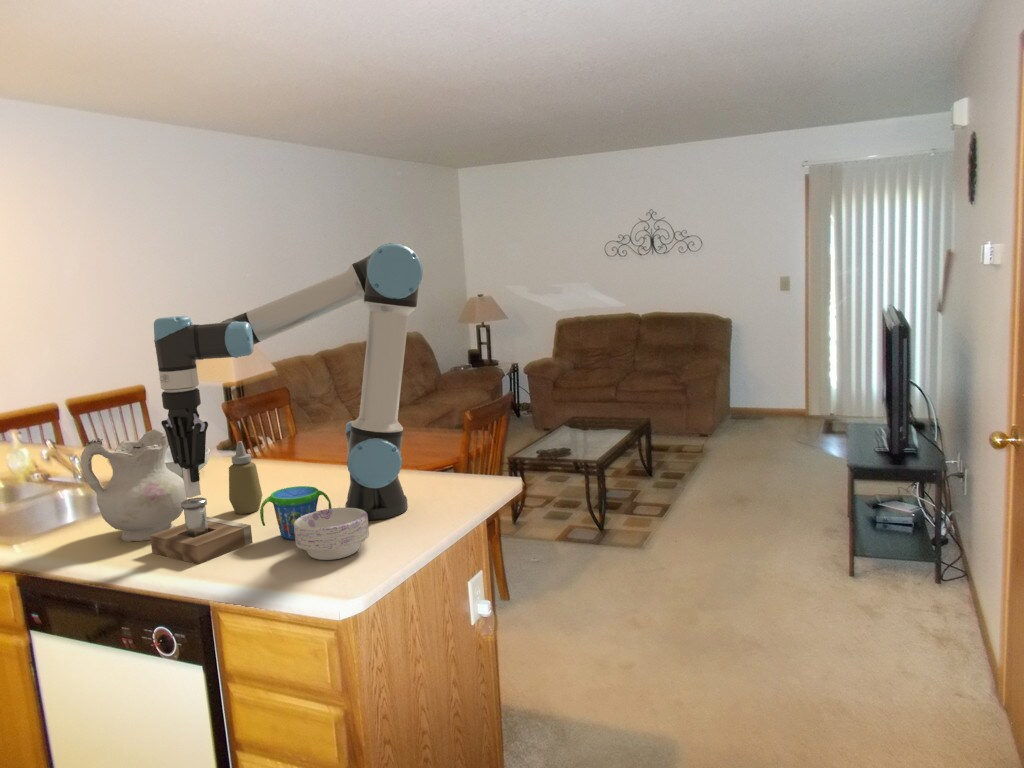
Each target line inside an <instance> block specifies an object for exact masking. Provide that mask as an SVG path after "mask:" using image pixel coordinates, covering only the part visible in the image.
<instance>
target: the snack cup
mask: <svg viewBox="0 0 1024 768" xmlns="http://www.w3.org/2000/svg"><path fill="white" fill-rule="evenodd" d="M320 496H323V497H324V498H325V499H326V500H327V502H328V509H332V508H333V507H332V502H331V499H330V498H329V496H328V495H327V493H326V492H324V491H322V490H319V488H317V487H314V486H310V485H309V486H307V485H305V486H304V485H302V486H301V485H300V486H299V485H298V486H297V485H295V486H290V487H284V488H281V489H278V490H275V491H273V492H272V493H271V494H270V496H267V497H266V498H265V499H264V500H263V501H262V502H261V503H262V504H260V508H259V510H260V511H259V516H260V521H261V524H262V526H263V527H265V526H266V523H265V520H264V507H265V505H267V504H268V503H269V502H270V503H272V504H273V508H274V512H275V518H276V521H277V526H278V528H279V532H280V537H282V538H284V539H286V540H290V541H291V540H295V532H294V531H295V530H294V522H295V521H296V520H297V519H298V518H300V517H301V516H303V515H306V514H309V513H312V512H316V511H317V507H318V502H319V497H320Z"/></svg>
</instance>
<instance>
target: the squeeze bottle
mask: <svg viewBox="0 0 1024 768" xmlns="http://www.w3.org/2000/svg"><path fill="white" fill-rule="evenodd" d="M251 455H252V454H250V453H247V452H246V449H245V446H244V444H243V441H241V440H240V441H237V442H236V449H235V455H232V456H231V463H232V464H231V465H230V466H229V467H228V499H229V502H230V504H231V506H232V508H233V511H234V512H235V513H236V514H237V515H238V514H242V515H243V514H251V513H253V512H257V511H259V510H260V509H261V505H262V504H261V503H262V499H263V492H262V487H261V482H260V479H259V473H258V469H257V464H256V463H255V462H253V461H252V456H251Z"/></svg>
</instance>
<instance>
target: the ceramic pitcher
mask: <svg viewBox="0 0 1024 768" xmlns="http://www.w3.org/2000/svg"><path fill="white" fill-rule="evenodd" d="M103 441H104V439H103V438H99V437H98V438H96V439H93V438H92V440H88V441H87V442H85V444H86V446H85V447H84V449H83V451H82V452H81V456H80V462H81V463H80V467H81V469H82V470H81V471H82V475H83V476H84V479H85V480H86V482H87V484H88V485H89V487H90V488H91V489H92V490H93V491H94V493H95V494H96V504H97V507H98V509H99V512H100V513H99V514H100V515H101V517H102V519H103V521H104V522H105V523H107V524H108V525H109V526H110V527H111V528H113V529H115V530H119V531H123V532H122V534H121V535H120V537H119V539H120V540H122V541H124V542H127V543H130V542H143V541H146V542H147V541H151V540H150V535H153V534H156V533H159V532H162V531H165V530H168V529H170V528H173V527H176V526H174V525H173V524H172V522H174V521H175V520H177V519H178V518H179V517H180V516H181V515H182V513H183V512H184V509H183V508H182V507H181V502H182V501H184V500H187V499H188V498H187V497H186V495H185V487H184V481H183V478H181V477H180V476H178V475H177V474H175V473H173V472H171V471H170V470H169V469H168V468H167V467H166V464H165V454H166V450H167V449H169V443H168V439H167V436H166V432H165V430H162V429H158V428H155V429H154V428H153V429H151V430H149V431H146V432H145V433H144V434H143V435H142V437H141V438H140V439H139V440H133V441H131V440H127V439H126V440H123V441H121V442H119V444H118V446H117V447H116V448H115V450H111V449H108V448H107V447H106V446H105V444H104V443H103ZM96 455H97V456H98V455H100V456H102V457H103V458H104V459H108V461H109V463H110V466H111V469H112V474H111V477H110V480H109V481H108V482H107V483H106V484H105V485H103V486H102V485H101V483H100V480H99V479H98V477H97V476H96V474H95V473H94V471H93V467H92V466H93V465H92V460H93V457H94V456H96Z"/></svg>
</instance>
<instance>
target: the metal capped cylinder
mask: <svg viewBox="0 0 1024 768" xmlns="http://www.w3.org/2000/svg"><path fill="white" fill-rule="evenodd" d="M207 501H208V500H207V498H206V497H192V498H187V500H184V501H182V502H181V507H182V508H183V509H184V510H183V512H184V514H183V515H184V522H185V523H184V524H186V532H187V536H188V537H192V538H195V537H198V536H200V535H203V534H206V533H208V525H207V517H208V516H207V508H206V506H207V505H208V502H207Z"/></svg>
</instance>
